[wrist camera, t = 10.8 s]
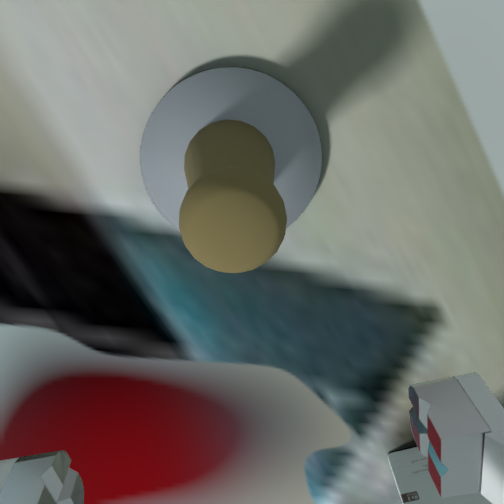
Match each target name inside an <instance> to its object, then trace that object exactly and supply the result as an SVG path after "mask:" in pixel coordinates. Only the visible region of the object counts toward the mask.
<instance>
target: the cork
mask: <svg viewBox="0 0 504 504" xmlns="http://www.w3.org/2000/svg"><path fill="white" fill-rule="evenodd" d="M184 171H185V176H186V181H187V186H188V190H187V192H186V194H185V197H184V199H183V202H182V204H181V207H180V211H179V229H180V232H181V235H182V238H183V242H184V244H185V246H186V247H187V249H188V250H189V251H190V253H191V254H192V256H193V257H194V258H195V259H196V260H198V261H199V262H201V263H202V264H203V265H205V266H206V267H208V268H211V269H214V270H217V271H220V272H227V273H240V272H245V271H249V270H253V269H255V268H257V267H259V266H260V265H262V264H264V263H266V262H267V261H268V260H269V259H270V258H271V257H272V256H273V255H274V254H275V253H276V252H277V250H278V248H279V247H280V245H281V243H282V241H283V239H284V236H285V230H286V224H287V215H286V210H285V205H284V201H283V199H282V197H281V195H280V194H279V192H278V190H277V189H276V187H275V185H274V172H275V159H274V154H273V149H272V147H271V145H270V143H269V142H268V140H267V138H266V136H264V135H263V134H262V133H261V132H260V131H259V130H258V129H257V128H256V127H254V126H252V125H250V124H247V123H245V122H243V121H238V120H228V119H226V120H221V121H217V122H213V123H210V124H209V125H207V126H205V127H204V128H202V129H201V130H199V131H198V132H197V134H196V135H195V136H194V137H193V138H192V140H191V141H190V142H189V145H188V147H187V150H186V153H185V158H184Z"/></svg>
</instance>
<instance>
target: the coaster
mask: <svg viewBox="0 0 504 504" xmlns="http://www.w3.org/2000/svg"><path fill="white" fill-rule="evenodd" d="M226 119H228V120H238V121H243V122H245V123H247V124H250V125H252V126H254V127H256V128H257V129H258V130H259V131H260V132H261V133H262V134H263V135H264V136H266V138H267V140H268V142H269V143H270V145H271V147H272V149H273V154H274V159H275V172H274V185H275V187H276V189H277V190H278V192H279V194H280V195H281V197H282V199H283V201H284V205H285V210H286V215H287V224H286V228H287V227H289V226H290V225H291V224H292V223H293V222H294V221H295V220H297V218H298V217H299V216H300V215H301V214H302V213H303V212H304V210H305V209H306V207H307V206H308V204H309V203H310V201H311V199H312V197H313V195H314V193H315V191H316V188H317V185H318V182H319V178H320V174H321V167H322V147H321V141H320V136H319V133H318V130H317V127H316V124H315V122H314V120H313V118H312V116H311V114H310V112H309V111H308V109H307V108H306V106H305V105H304V103H303V102H302V101H301V100H300V99H299V98H298V97H297V96H296V94H295V93H294V92H293V91H291V90H290V89H289V88H288V87H287V86H286V85H284V84H283V83H281V82H280V81H278V80H277V79H275V78H273V77H271V76H269V75H267V74H265V73H262V72H259V71H256V70H252V69H248V68H241V67H220V68H213V69H209V70H205V71H202V72H199V73H197V74H194V75H192V76H190V77H188V78H186V79H185V80H183V81H181V82H180V83H178V84H177V85H176V86H174V87H173V88H172V89H171V90H170V91H169V92H168V93H167V94H166V95H165V96H164V97H163V98H162V99H161V100H160V102H159V103H158V104H157V106H156V107H155V109H154V110H153V112H152V113H151V115H150V118H149V120H148V122H147V124H146V127H145V130H144V133H143V136H142V141H141V147H140V165H141V173H142V177H143V181H144V185H145V187H146V190H147V192H148V195H149V196H150V198H151V200H152V202H153V204H154V205H155V207H156V208H157V209H158V211H159V212H160V213H161V214H162V215H163V217H164V218H165V219H166V220H167V221H168V222H169V223H171V224H172V225H173V226H174V227H175V228H177V229H178V230H180V229H179V211H180V207H181V204H182V202H183V199H184V197H185V194H186V192H187V190H188V186H187V181H186V176H185V171H184V158H185V153H186V150H187V147H188V145H189V142H190V141H191V140H192V138H193V137H194V136H195V135H196V134H197V132H198V131H199V130H201V129H202V128H204V127H205V126H207V125H209V124H210V123H213V122H217V121H221V120H226Z"/></svg>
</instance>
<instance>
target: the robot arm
mask: <svg viewBox="0 0 504 504" xmlns="http://www.w3.org/2000/svg"><path fill="white" fill-rule="evenodd" d="M408 395H409V399H410V401H411V403H412V406H413V407H412V408H411V410H410V411H409V416H410V424H411V429H412V433H413V436H414V439H415V442H416V445H417V447H418V449H419V451H420V453H421V454H422V455H424V456H425V457H427V458H428V471H429V473H430V475H431V477H432V480H433V482H434V484H435V486H436V488H437V490H438V492H439V494H440V497H441V498H444V497H450V496H457V495H464V494H470V493H477V492H481V495H483V496H484V497H485V498H486V499H488V500H489V501H490V502H491V503H492V504H504V408H503V407H502V405H501V404H500V403H499V401H498V400H497V399H496V397H495V396H494V394H493V393H492V392H491V390H490V389H489V388H488V386H487V385H486V384H485V382H484V381H483V379H482V378H481V377H480V375H478V374H477V373H475V372H473V373H468V374H463V375H458V376H453V377H447V378H442V379H437V380H432V381H427V382H422V383H417V384H412V385H409V389H408ZM70 462H71V459H70V458H69V456H68V455H67V453H66V451H56V452H49V453H43V454H37V455H31V456H24V457H20V458H14V459H8V460H2V461H0V504H83V503H84V488H83V484H82V480H81V478H80V476H79V474H78V473H77V472H75V471H74V470H72V469H70V468H69V465H70Z"/></svg>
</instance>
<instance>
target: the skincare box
mask: <svg viewBox="0 0 504 504" xmlns="http://www.w3.org/2000/svg"><path fill="white" fill-rule="evenodd" d="M387 457H388V460H389V464H390V467H391V470H392V473H393V476H394V479H395V482H396V485H397V488H398V491H399V494H400V497H401V500H402V503H403V504H492V503H491V502H490V501H489V500H488V499H486V498H485V497H484V496H483V495H481V492H477V493H470V494H464V495H457V496H450V497H444V498H441V497H440V494H439V492H438V490H437V488H436V486H435V484H434V482H433V480H432V477H431V475H430V473H429V471H428V458H427V457H425V456H424V455H422V454H421V453H420V451H419V449H418V447H414V448H410V449H406V450H402V451H397V452H393V453H390V454H388V456H387Z"/></svg>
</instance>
